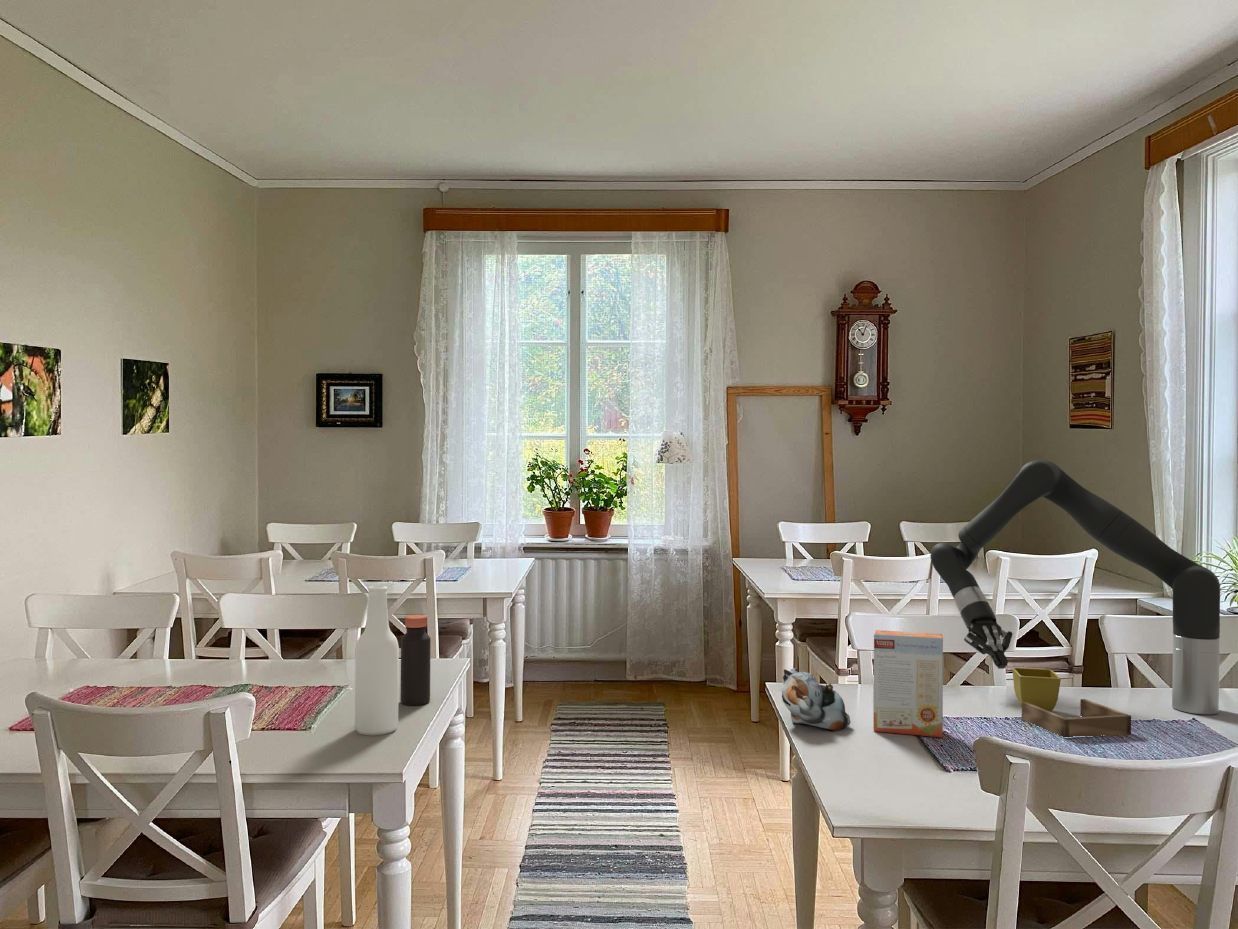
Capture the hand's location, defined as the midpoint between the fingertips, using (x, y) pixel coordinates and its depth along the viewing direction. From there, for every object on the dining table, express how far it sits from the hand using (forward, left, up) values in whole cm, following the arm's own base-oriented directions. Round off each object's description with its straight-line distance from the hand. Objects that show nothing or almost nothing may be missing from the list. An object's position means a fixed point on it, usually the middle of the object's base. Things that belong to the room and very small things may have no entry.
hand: (1003, 666), depth 225 cm
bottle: (+110, -88, -8) cm, 142 cm away
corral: (+12, +21, -8) cm, 25 cm away
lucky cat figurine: (+54, -16, -8) cm, 57 cm away
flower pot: (+6, +11, -8) cm, 15 cm away
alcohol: (+128, -74, -8) cm, 148 cm away
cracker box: (+43, 0, -8) cm, 44 cm away
